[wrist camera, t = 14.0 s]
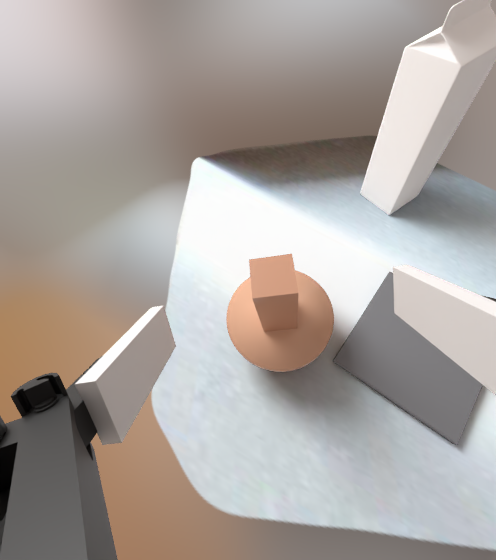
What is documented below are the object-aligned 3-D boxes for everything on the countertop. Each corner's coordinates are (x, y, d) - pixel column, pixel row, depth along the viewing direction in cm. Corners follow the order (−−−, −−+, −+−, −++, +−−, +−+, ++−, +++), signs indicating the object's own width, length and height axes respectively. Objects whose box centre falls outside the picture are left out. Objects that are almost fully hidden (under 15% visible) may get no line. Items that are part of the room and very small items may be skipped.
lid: (343, 366, 26) (370, 341, 17) (230, 376, 27) (199, 357, 18) (320, 267, 31) (332, 208, 22) (227, 279, 32) (202, 228, 23)
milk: (417, 196, 39) (542, -15, 20) (388, 216, 38) (488, 16, 19) (386, 175, 42) (469, -27, 23) (358, 194, 41) (419, -1, 22)
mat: (501, 330, 29) (506, 328, 28) (453, 443, 25) (457, 444, 24) (387, 274, 34) (389, 271, 33) (332, 361, 30) (333, 360, 29)
